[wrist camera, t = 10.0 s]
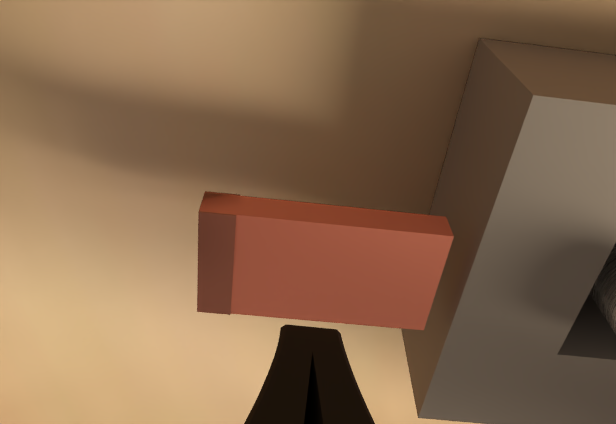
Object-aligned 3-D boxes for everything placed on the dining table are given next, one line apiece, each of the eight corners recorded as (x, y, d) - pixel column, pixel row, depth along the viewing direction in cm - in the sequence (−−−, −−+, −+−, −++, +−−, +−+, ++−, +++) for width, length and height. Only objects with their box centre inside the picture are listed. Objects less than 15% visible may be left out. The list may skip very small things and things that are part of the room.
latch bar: (445, 215, 16) (454, 237, 15) (417, 307, 18) (423, 331, 17) (205, 191, 16) (198, 212, 15) (203, 288, 17) (197, 311, 16)
